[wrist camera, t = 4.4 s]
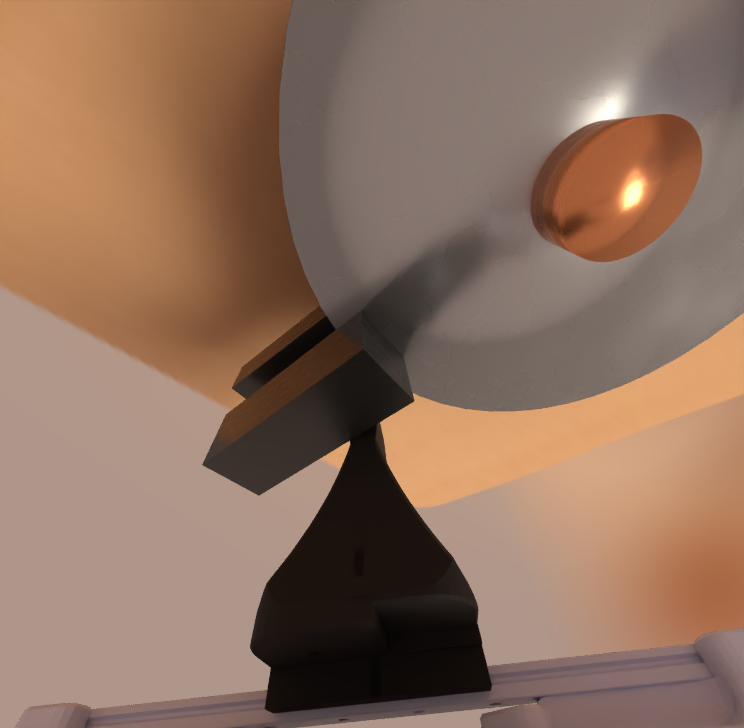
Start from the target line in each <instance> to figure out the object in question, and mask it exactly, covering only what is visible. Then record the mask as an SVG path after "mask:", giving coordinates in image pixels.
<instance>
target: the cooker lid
mask: <svg viewBox="0 0 744 728" xmlns="http://www.w3.org/2000/svg"><path fill="white" fill-rule="evenodd" d="M279 156H280V166H281V176H282V186H283V195H284V202H285V206H286V211H287V215H288V220H289V224H290V229H291V233H292V238H293V242H294V245H295V248H296V250H297V253H298V256H299V259H300V262H301V265H302V268H303V270H304V273H305V276H306V278H307V280H308V282H309V284H310V286H311V288H312V290H313V292H314V294H315V296H316V298H317V300H318V302H319V304H320V306H321V308H322V310H323V311H324V313H325V314H326V316H327V317H328V319H329V320H330V322H331V323H332V325H333V326H334V328H335V329H336V330H335V331H334V332H333V333H331V334H330V335H329V336H327V337H326V338H325V339H324V340H322V341H321V342H320V343H318V344H317V345H316V346H314V347H313V348H312V349H311V350H309V351H308V352H307V353H305V354H304V355H303V356H301V357H300V358H299V359H298V360H296V361H295V362H294V363H292V364H291V365H290V366H289V367H287V368H286V369H285V370H283V371H282V372H281V373H279V374H278V375H277V376H276V377H274V378H273V379H272V380H270V381H269V382H268V383H266V384H265V385H264V386H263V387H261V388H260V389H259V390H257V391H256V392H255V393H254V394H252V395H251V396H250V397H248V398H247V399H246V400H244V401H243V402H242V403H241V404H239V405H238V406H237V407H235V408H234V409H233V410H231V411H230V412H229V413H228V414H226V416H225V418H224V420H223V422H222V424H221V426H220V428H219V430H218V433H217V435H216V437H215V439H214V441H213V443H212V445H211V447H210V450H209V452H208V454H207V456H206V458H205V460H204V462H203V466H205V467H207V468H209V469H211V470H213V471H215V472H216V473H218V474H220V475H222V476H224V477H226V478H227V479H229V480H231V481H233V482H235V483H237V484H239V485H240V486H242V487H244V488H246V489H248V490H250V491H251V492H253V493H255V494H257V495H261V494H262V493H264V492H266V491H267V490H269V489H271V488H272V487H274V486H276V485H277V484H279V483H280V482H282V481H284V480H285V479H287V478H289V477H290V476H292V475H294V474H295V473H297V472H298V471H300V470H302V469H304V468H305V467H307V466H309V465H310V464H312V463H313V462H315V461H317V460H318V459H320V458H322V457H323V456H325V455H327V454H328V453H330V452H332V451H333V450H335V449H336V448H338V447H340V446H341V445H343V444H345V443H346V442H348V441H350V440H351V439H353V438H355V437H356V436H358V435H360V434H361V433H363V432H364V431H366V430H368V429H369V428H371V427H373V426H374V425H376V424H378V423H379V422H381V421H383V420H384V419H386V418H387V417H389V416H391V415H392V414H394V413H396V412H397V411H399V410H401V409H402V408H404V407H406V406H407V405H409V404H411V403H412V402H414V397H413V393H415V394H417V395H419V396H421V397H424V398H427V399H430V400H433V401H436V402H439V403H442V404H446V405H450V406H455V407H460V408H464V409H472V410H482V411H523V410H533V409H542V408H547V407H552V406H557V405H563V404H567V403H571V402H575V401H578V400H582V399H585V398H589V397H592V396H595V395H598V394H601V393H604V392H606V391H609V390H612V389H614V388H617V387H620V386H622V385H625V384H627V383H629V382H631V381H633V380H636V379H638V378H640V377H642V376H644V375H647V374H649V373H651V372H653V371H654V370H656V369H658V368H660V367H662V366H664V365H665V364H667V363H669V362H671V361H673V360H675V359H677V358H678V357H680V356H682V355H683V354H685V353H686V352H688V351H689V350H691V349H693V348H694V347H696V346H697V345H699V344H701V343H702V342H704V341H705V340H707V339H708V338H710V337H711V336H713V335H714V334H715V333H717V332H718V331H719V330H721V329H722V328H724V327H725V326H726V325H728V324H729V323H730V322H732V321H733V320H735V319H736V318H737V317H739V316H740V315H741V314H742V313H744V0H293V3H292V8H291V12H290V16H289V21H288V25H287V31H286V40H285V48H284V57H283V66H282V74H281V83H280V91H279ZM412 392H413V393H412Z"/></svg>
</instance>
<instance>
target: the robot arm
mask: <svg viewBox="0 0 744 728" xmlns="http://www.w3.org/2000/svg"><path fill="white" fill-rule="evenodd" d="M477 619H478V605H477V602H476V599H475V597H474V594H473V592H472V590H471V588H470V586H469V584H468V582H467V581H466V579H465V577H464V575H463V574H462V572H461V570H460V569H459V567H458V565H457V564H456V562H455V560H454V558H453V557H452V555H451V554H450V553H449V552H448V551H447V550H446V549H445V547H444V546H443V545H442V544H441V542H440V541H439V540H438V539H437V538H436V536H435V535H434V534H433V533H432V531H431V530H430V529H429V528H428V526H427V525H426V524H425V523H424V521H423V519H422V518H421V517H420V515H419V514H418V512H417V511H416V510H415V508H414V507H413V505H412V504H411V503H410V501H409V500H408V498H407V497H406V495H405V493H404V492H403V490H402V489H401V487H400V485H399V484H398V482H397V480H396V479H395V477H394V475H393V473H392V472H391V470H390V468H389V466H388V464H387V461H386V453H385V445H384V439H383V435H382V430H381V425H380V422H379V423H378V424H376V425H374V426H373V427H371V428H369V429H368V430H366V431H364V432H363V433H361V434H360V435H358V436H356V437H355V438H353V439H351V440H350V447H349V450H348V453H347V455H346V458H345V460H344V462H343V465H342V467H341V469H340V472H339V474H338V476H337V478H336V480H335V482H334V484H333V486H332V488H331V490H330V492H329V494H328V496H327V498H326V499H325V501H324V503H323V505H322V506H321V508H320V510H319V512H318V513H317V515H316V516H315V518H314V520H313V521H312V523H311V524H310V526H309V527H308V529H307V530H306V532H305V533H304V535H303V536H302V537H301V539H300V540H299V542H298V543H297V545H296V546H295V548H294V549H293V550H292V552H291V553H290V555H289V556H288V557H287V558H286V559H285V561H284V562H283V563H282V565H281V566H280V567H279V569H278V570H277V571H276V572H275V573H274V575H273V576H272V577H271V578H270V580H269V581H268V582H267V584H266V587H265V589H264V592H263V595H262V598H261V602H260V605H259V608H258V611H257V615H256V619H255V624H254V630H253V634H252V639H251V644H250V649H251V651H252V652H253V654H254V655H255V656H256V657H257V658H259V659H260V660H262V661H263V662H264V663H266V664H267V665H268V666H269V667H271V671H270V678H269V683H268V690H264V691H255V692H246V693H237V694H227V695H218V696H209V697H201V698H190V699H181V700H173V701H164V702H154V703H144V704H135V705H126V706H117V707H108V708H99V709H91V708H90V707H88V706H86V705H82V704H77V703H60V704H52V705H43V706H33V707H29V708H28V709H26V710H25V711H24V713H23V714H22V716H21V717H20V719H19V721H18V723H17V724H16V726H15V728H297V727H307V726H317V725H326V724H336V723H346V722H356V721H366V720H376V719H385V718H395V717H404V716H415V715H425V714H435V713H444V712H454V711H464V710H473V709H483V708H494V707H503V706H513V705H519V706H514V707H510V708H506V709H502V710H497V711H493V712H489V713H485V714H482V716H481V718H480V720H481V725H482V727H481V728H744V628H738V629H729V630H721V631H714V632H710V633H707V634H703V635H701V636H699V637H698V638H697V639H696V640H695V641H694V644H687V645H677V646H668V647H659V648H650V649H641V650H632V651H622V652H612V653H604V654H594V655H585V656H576V657H567V658H557V659H548V660H539V661H530V662H521V663H512V664H503V665H494V666H487V663H486V660H485V656H484V652H483V648H482V639H481V635H480V631H479V628H478V624H477ZM533 703H537V704H533ZM523 704H527V705H523Z"/></svg>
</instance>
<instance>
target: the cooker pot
mask: <svg viewBox="0 0 744 728" xmlns="http://www.w3.org/2000/svg"><path fill="white" fill-rule="evenodd" d="M335 330H336V329H335V328H334V326H333V325H332V323H331V322H330V320H329V319H328V317H327V316H326V314H325V313H324V311H323V310H322V308H321V306H319V307H318V308H316V309H315V310H314V311H313V312H311V313H310V314H309V315H308V316H306V317H305V318H304V319H302V320H301V321H300V322H299V323H297V324H296V325H295V326H294V327H292V328H291V329H290V330H289V331H287V332H286V333H285V334H283V335H282V336H281V337H280V338H278V339H277V340H276V341H275V342H273V343H272V344H271V345H269V346H268V347H267V348H266V349H264V350H263V351H262V352H261V353H259V354H258V355H257V356H256V357H254V358H253V359H252V360H250V361H249V362H248V363H247V364H245V365H244V366H243V367H242V369H241V371H240V373H239V375H238V377H237V379H236V381H235V383H234V385H233V386H232V389H233V390H235V391H236V392H238V393H239V394H240V395H242V396H243V397H244V398H246V399H247V398H248V397H250V396H251V395H252V394H254V393H255V392H256V391H257V390H259V389H260V388H261V387H263V386H264V385H265V384H266V383H268V382H269V381H270V380H272V379H273V378H274V377H276V376H277V375H278V374H279V373H281V372H282V371H283V370H285V369H286V368H287V367H289V366H290V365H291V364H292V363H294V362H295V361H296V360H298V359H299V358H300V357H301V356H303V355H304V354H305V353H307V352H308V351H309V350H311V349H312V348H313V347H314V346H316V345H317V344H318V343H320V342H321V341H322V340H324V339H325V338H326V337H327V336H329V335H330V334H331V333H333V332H334V331H335Z"/></svg>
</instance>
